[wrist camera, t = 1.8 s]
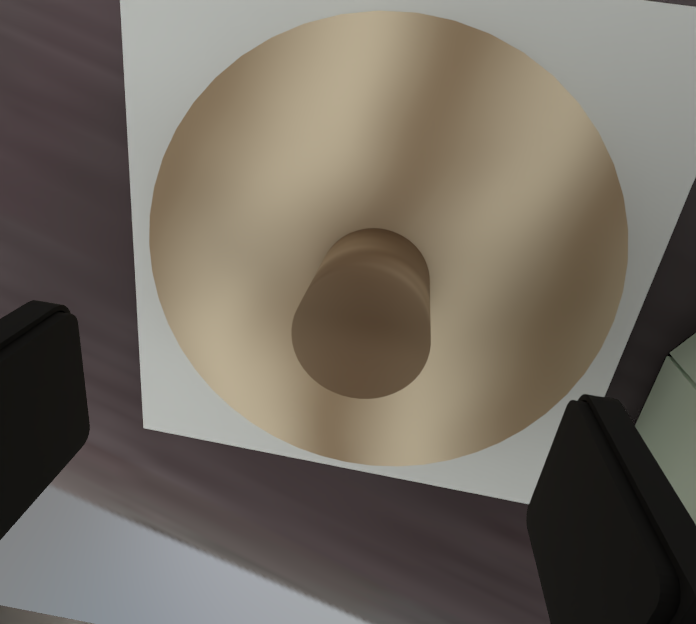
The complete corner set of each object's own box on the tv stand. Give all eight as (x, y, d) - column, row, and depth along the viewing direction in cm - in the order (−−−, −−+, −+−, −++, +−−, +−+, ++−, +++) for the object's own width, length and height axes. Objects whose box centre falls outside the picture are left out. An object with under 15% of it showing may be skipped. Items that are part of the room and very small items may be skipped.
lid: (703, 53, 13) (834, 44, 9) (539, 484, 20) (571, 598, 16) (151, -20, 14) (35, -58, 10) (166, 413, 21) (99, 501, 17)
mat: (753, 16, 13) (762, 15, 13) (555, 502, 21) (557, 509, 20) (123, -64, 15) (116, -67, 14) (148, 422, 22) (143, 427, 22)
